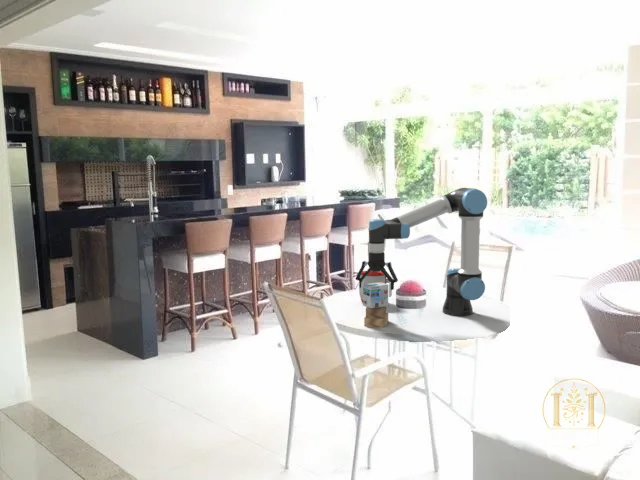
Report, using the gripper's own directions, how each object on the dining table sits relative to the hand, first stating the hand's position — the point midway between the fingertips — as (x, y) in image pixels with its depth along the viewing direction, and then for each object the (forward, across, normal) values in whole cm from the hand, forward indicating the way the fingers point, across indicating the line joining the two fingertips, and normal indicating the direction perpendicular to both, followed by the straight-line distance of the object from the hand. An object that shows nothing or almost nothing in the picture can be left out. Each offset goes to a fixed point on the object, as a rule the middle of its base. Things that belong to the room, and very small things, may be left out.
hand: (376, 295), depth 282 cm
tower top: (+10, 0, 0) cm, 10 cm away
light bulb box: (+5, 0, 0) cm, 6 cm away
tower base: (+14, 0, 0) cm, 14 cm away
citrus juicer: (+14, +11, -40) cm, 44 cm away
